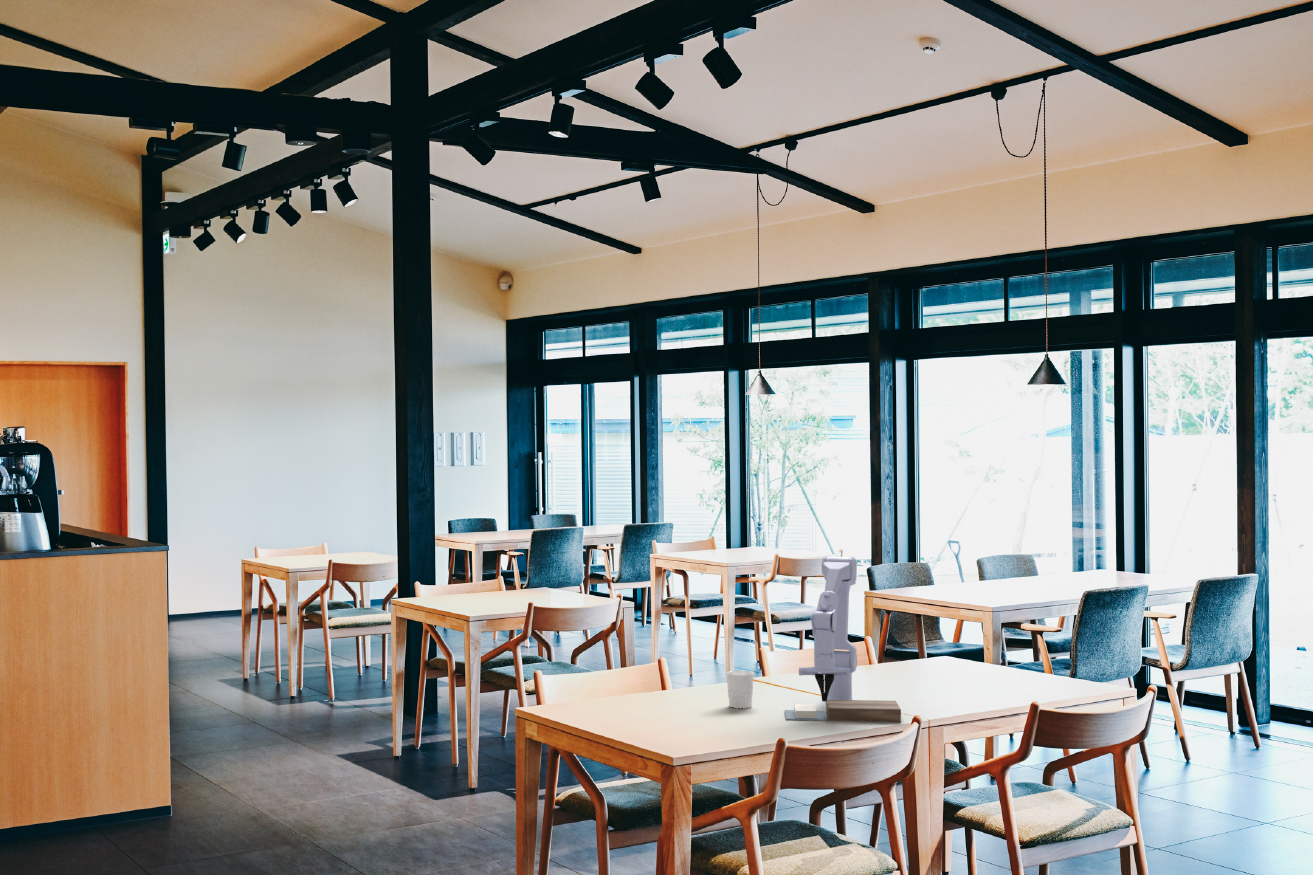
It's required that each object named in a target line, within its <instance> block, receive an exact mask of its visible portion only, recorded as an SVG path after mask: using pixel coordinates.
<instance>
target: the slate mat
mask: <svg viewBox="0 0 1313 875" xmlns="http://www.w3.org/2000/svg"><path fill="white" fill-rule="evenodd" d="M816 710H817V709H816ZM784 716H785V721H810V722H811V721H812V722H816V721H820V722H821V721H823V722H827V721H828V717H827V713H826V710H817V718H795V713H794V709H784Z"/></svg>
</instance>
